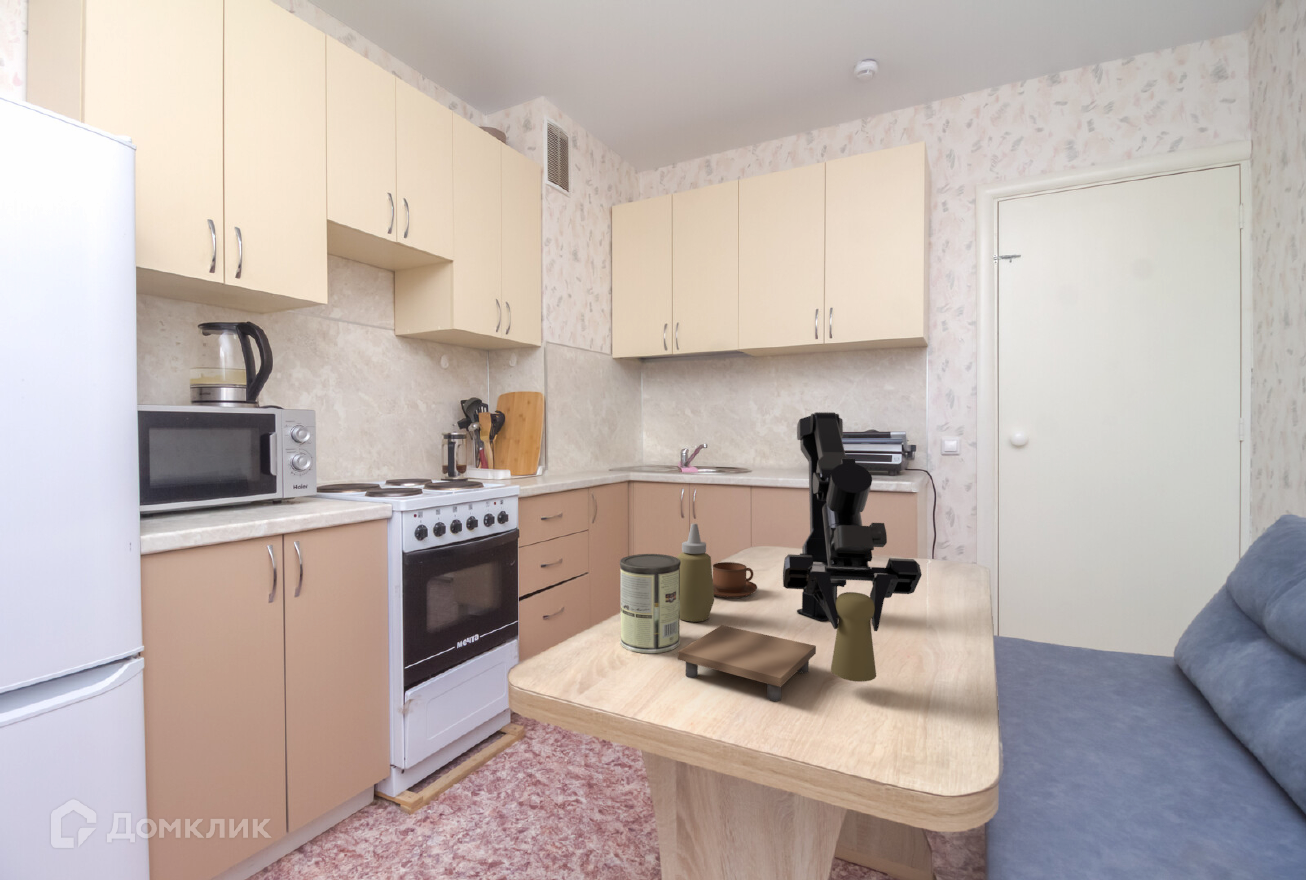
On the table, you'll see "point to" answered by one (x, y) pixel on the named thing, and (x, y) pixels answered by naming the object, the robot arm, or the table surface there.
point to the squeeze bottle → (695, 579)
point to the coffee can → (650, 603)
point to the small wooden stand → (749, 656)
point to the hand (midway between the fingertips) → (856, 628)
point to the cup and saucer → (732, 580)
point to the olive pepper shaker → (854, 638)
